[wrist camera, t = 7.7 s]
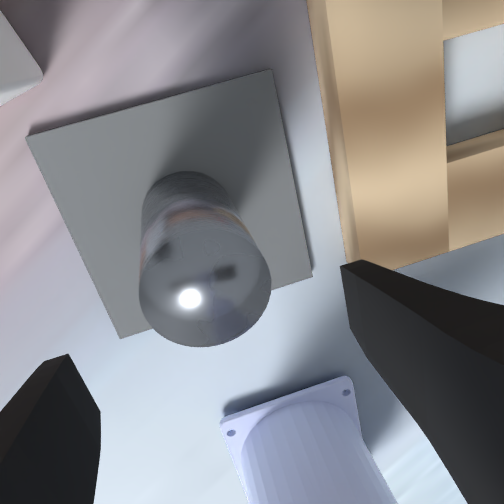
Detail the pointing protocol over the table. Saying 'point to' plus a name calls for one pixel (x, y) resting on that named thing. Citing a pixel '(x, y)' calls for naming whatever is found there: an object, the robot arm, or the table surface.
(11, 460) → the robot arm
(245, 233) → the steel cylinder
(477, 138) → the pocket block
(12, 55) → the medicine bottle
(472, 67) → the table surface
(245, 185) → the rubber pad
